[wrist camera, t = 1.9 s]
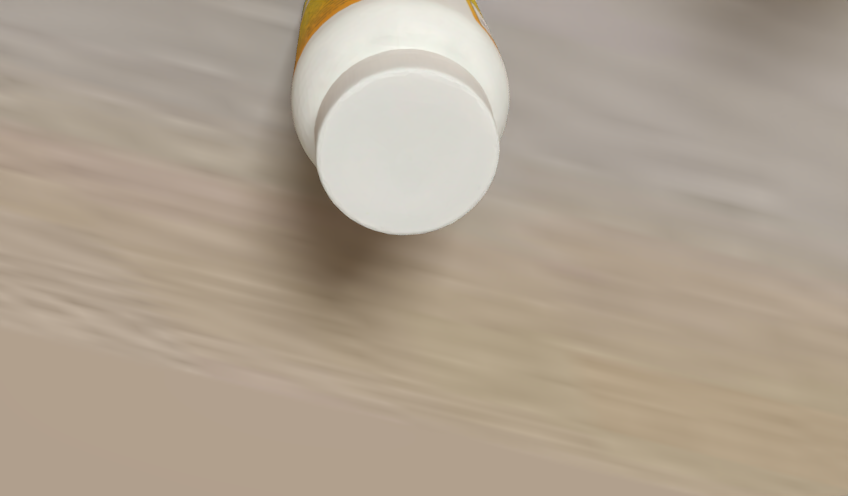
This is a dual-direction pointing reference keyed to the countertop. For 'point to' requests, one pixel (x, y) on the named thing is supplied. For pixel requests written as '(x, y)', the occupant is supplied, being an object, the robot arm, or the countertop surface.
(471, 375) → the countertop surface
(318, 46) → the supplement bottle
